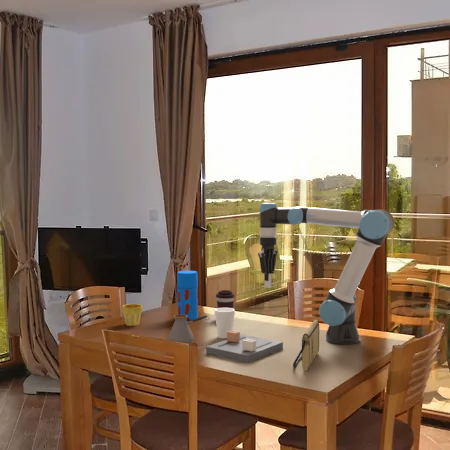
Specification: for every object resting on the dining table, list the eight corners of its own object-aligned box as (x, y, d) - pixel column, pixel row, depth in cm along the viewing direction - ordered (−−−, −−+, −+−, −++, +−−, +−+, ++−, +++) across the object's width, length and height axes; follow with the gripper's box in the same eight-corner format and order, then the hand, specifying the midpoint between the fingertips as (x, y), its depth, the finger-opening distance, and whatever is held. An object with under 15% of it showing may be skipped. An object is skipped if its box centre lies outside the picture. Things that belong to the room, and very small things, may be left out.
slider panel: (282, 348, 269) (282, 341, 269) (248, 362, 249) (248, 355, 249) (242, 340, 283) (242, 334, 283) (206, 353, 262) (206, 346, 262)
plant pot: (146, 325, 314) (146, 306, 314) (127, 327, 309) (127, 308, 308) (137, 321, 323) (137, 302, 322) (119, 323, 317) (118, 305, 316)
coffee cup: (217, 316, 334) (217, 289, 333) (235, 317, 332) (235, 289, 331) (214, 320, 324) (214, 292, 323) (233, 321, 322) (233, 293, 321)
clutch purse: (303, 351, 265) (303, 317, 264) (319, 353, 263) (320, 318, 262) (290, 372, 237) (290, 333, 236) (308, 373, 235) (308, 335, 234)
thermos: (197, 320, 324) (196, 273, 323) (176, 320, 324) (176, 273, 323) (198, 316, 335) (198, 270, 333) (178, 316, 335) (178, 270, 334)
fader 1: (239, 340, 270) (239, 331, 270) (235, 342, 268) (235, 333, 268) (230, 339, 273) (230, 330, 273) (226, 340, 271) (226, 331, 271)
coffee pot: (162, 344, 277) (162, 311, 276) (179, 339, 286) (179, 307, 285) (199, 352, 264) (199, 318, 263) (216, 346, 273) (215, 313, 272)
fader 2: (256, 349, 256) (256, 340, 255) (252, 351, 253) (252, 341, 253) (246, 347, 259) (246, 338, 258) (242, 349, 256) (242, 339, 256)
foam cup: (237, 335, 293) (237, 308, 292) (229, 340, 284) (229, 312, 283) (219, 333, 297) (219, 307, 296) (211, 338, 288) (211, 310, 287)
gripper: (269, 235, 289) (269, 284, 291) (253, 237, 279) (253, 288, 280) (282, 236, 284) (282, 286, 286) (266, 238, 274) (266, 290, 276)
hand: (267, 287), depth 283 cm, fingers closed
